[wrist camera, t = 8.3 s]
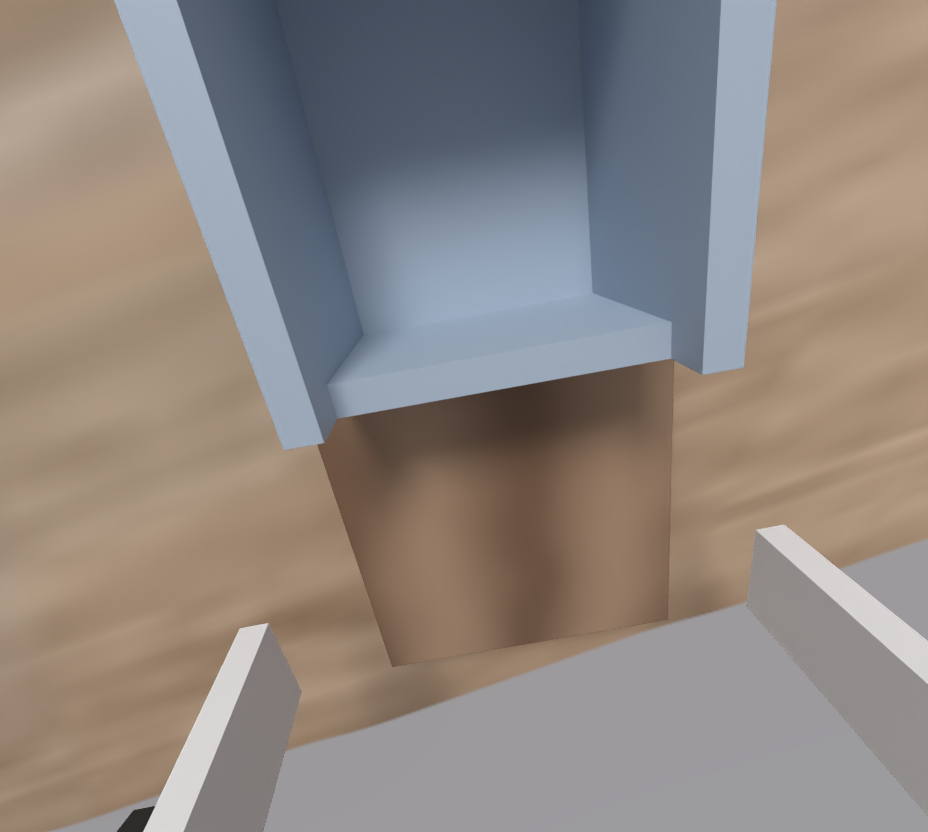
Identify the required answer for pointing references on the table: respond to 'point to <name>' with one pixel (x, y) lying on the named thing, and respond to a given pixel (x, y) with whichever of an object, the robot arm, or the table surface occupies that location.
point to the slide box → (465, 186)
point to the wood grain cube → (511, 511)
